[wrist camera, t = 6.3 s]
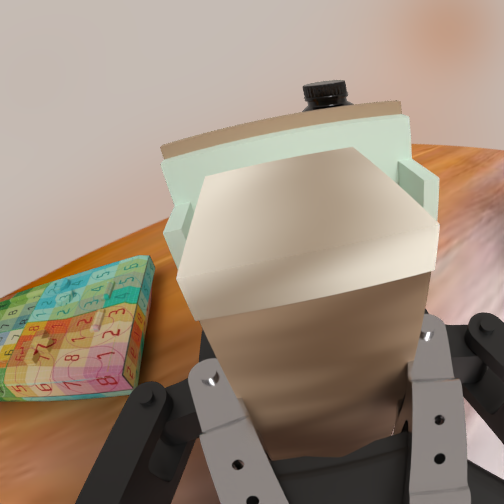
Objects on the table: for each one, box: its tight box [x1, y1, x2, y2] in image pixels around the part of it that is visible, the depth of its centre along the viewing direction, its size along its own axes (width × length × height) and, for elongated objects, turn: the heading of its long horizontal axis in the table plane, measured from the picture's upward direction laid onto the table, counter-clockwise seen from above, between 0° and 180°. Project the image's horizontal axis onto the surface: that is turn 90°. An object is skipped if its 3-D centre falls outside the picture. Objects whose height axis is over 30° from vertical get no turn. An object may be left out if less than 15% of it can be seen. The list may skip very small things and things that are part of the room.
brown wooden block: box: [176, 147, 440, 461], centre depth 10 cm, size 5×5×12 cm
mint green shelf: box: [160, 100, 439, 270], centre depth 25 cm, size 22×9×10 cm, turn 92°
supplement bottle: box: [302, 80, 354, 112], centre depth 34 cm, size 7×7×12 cm
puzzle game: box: [0, 255, 155, 401], centre depth 21 cm, size 12×5×20 cm
